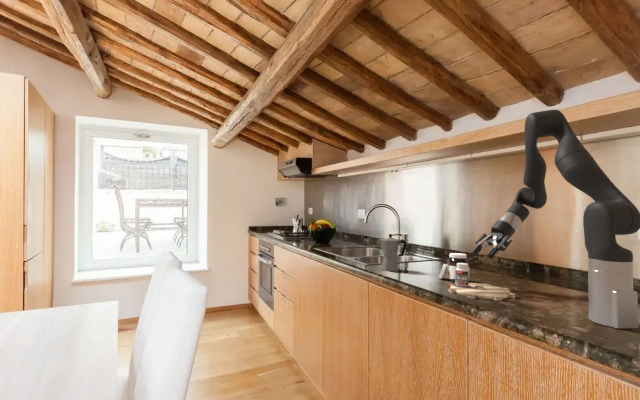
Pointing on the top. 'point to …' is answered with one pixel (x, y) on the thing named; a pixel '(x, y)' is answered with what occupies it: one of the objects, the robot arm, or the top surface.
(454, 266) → the spread jar
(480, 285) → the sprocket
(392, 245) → the coffeepot
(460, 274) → the pill bottle
